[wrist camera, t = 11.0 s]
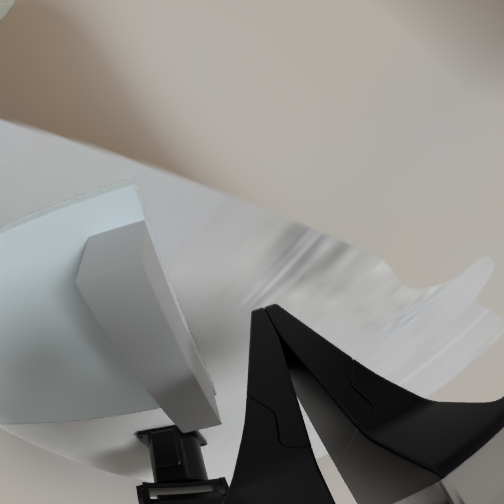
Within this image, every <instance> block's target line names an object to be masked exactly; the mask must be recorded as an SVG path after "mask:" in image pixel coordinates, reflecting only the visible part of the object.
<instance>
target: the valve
mask: <svg viewBox="0 0 504 504" xmlns="http://www.w3.org/2000/svg"><path fill="white" fill-rule="evenodd" d="M15 1H16V0H0V21H1V20H2V19H3V18H4V17H5V16H6V14H7V13H8V12H9V10H10V9H11V7H12V6H13V4H14V3H15Z"/></svg>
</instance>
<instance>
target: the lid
mask: <svg viewBox="0 0 504 504" xmlns="http://www.w3.org/2000/svg"><path fill="white" fill-rule="evenodd" d="M214 395H216V391H215V387H214V384H213V382H212V379H211V377H210V375H209V373H208V371H207V369H206V366H205V364H204V362H203V360H202V357H201V355H200V353H199V351H198V348H197V346H196V344H195V341H194V339H193V337H192V334H191V332H190V330H189V327H188V325H187V323H186V320H185V318H184V315H183V313H182V310H181V308H180V305H179V303H178V300H177V298H176V295H175V293H174V290H173V287H172V285H171V282H170V280H169V277H168V274H167V272H166V269H165V266H164V263H163V261H162V258H161V255H160V252H159V250H158V247H157V244H156V241H155V238H154V235H153V232H152V229H151V226H150V223H149V220H148V217H147V214H146V211H145V208H144V205H143V202H142V199H141V195H140V192H139V189H138V186H137V182H136V179H135V177H133V178H130V179H126V180H123V181H120V182H117V183H114V184H111V185H107V186H104V187H101V188H98V189H96V190H93V191H90V192H87V193H84V194H81V195H78V196H76V197H73V198H70V199H67V200H65V201H62V202H59V203H57V204H54V205H52V206H49V207H46V208H44V209H41V210H39V211H36V212H34V213H32V214H29V215H27V216H24V217H22V218H20V219H17V220H15V221H13V222H10V223H8V224H6V225H4V226H1V227H0V424H37V423H54V422H67V421H77V420H86V419H95V418H103V417H110V416H117V415H123V414H130V413H135V412H141V411H147V410H152V409H157V408H162V410H163V411H164V412H165V413H166V414H167V415H168V417H169V418H170V419H171V420H172V421H173V422H174V423H175V425H176V426H177V427H178V428H179V429H180V430H181V431H182V432H183V433H186V432H190V431H195V430H199V429H204V428H208V427H212V426H216V425H220V424H222V423H221V420H220V416H219V412H218V408H217V405H216V401H215V397H214Z"/></svg>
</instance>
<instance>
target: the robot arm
mask: <svg viewBox="0 0 504 504" xmlns="http://www.w3.org/2000/svg"><path fill="white" fill-rule="evenodd" d="M296 395H297V396H296ZM297 397H298V399H299V401H300V403H301V405H302V406H303V408H304V410H305V412H306V414H307V415H308V417H309V419H310V421H311V423H312V425H313V426H314V428H315V430H316V432H317V434H318V435H319V437H320V439H321V441H322V443H323V444H324V446H325V448H326V450H327V451H328V453H329V455H330V457H331V458H332V460H333V462H334V463H335V466H336V467H337V469H338V471H339V473H340V474H341V476H342V478H343V479H344V481H345V483H346V485H347V486H348V488H349V490H350V492H351V493H352V495H353V497H354V498H355V500H356V502H357V503H358V504H504V397H502V398H501V399H499V400H496V401H493V402H486V403H465V402H464V403H463V402H437V401H432V400H428V399H425V398H422V397H420V396H418V395H416V394H414V393H412V392H410V391H408V390H406V389H404V388H402V387H400V386H398V385H396V384H394V383H392V382H390V381H388V380H386V379H385V378H383V377H381V376H379V375H377V374H376V373H374V372H372V371H371V370H369V369H368V368H366V367H365V366H363V365H362V364H360V363H359V362H357V361H356V360H355V359H353V360H352V357H350V356H349V355H347V354H346V353H344V352H343V351H342V350H340V349H339V348H337V347H336V346H334V345H333V344H332V343H330V342H329V341H327V340H326V339H325V338H323V337H322V336H320V335H319V334H318V333H316V332H315V331H313V330H312V329H311V328H309V327H308V326H306V325H305V324H304V323H302V322H301V321H299V320H298V319H297V318H295V317H294V316H293V315H291V314H290V313H288V312H287V311H286V310H284V309H283V308H281V307H280V306H279V305H277V304H273V305H270V306H266V307H265V308H260V309H256V310H253V311H252V312H251V328H250V346H249V364H248V383H247V399H246V413H245V423H244V429H243V434H242V439H241V444H240V448H239V453H238V457H237V462H236V466H235V470H234V474H233V478H232V481H231V484H230V487H229V486H228V484H227V482H226V479H225V477H221V478H219V479H210V480H208V476H207V473H206V469H205V465H204V461H203V457H202V452H201V448H200V446H205V445H207V441H206V440H205V439H204V437H203V436H202V435H201V434H200V432H199V431H198V430H195V431H190V432H186V433H183V432H182V431H181V430H180V429H179V428H178V427H177V426H173V427H167V428H162V429H156V430H151V431H145V432H139V433H137V434H136V435H137V438H138V439H139V440H140V441H142V442H143V443H144V444H145V445H147V446H148V447H149V451H150V458H151V464H152V471H153V477H154V483H147V482H143V483H142V484H143V485H140V486H136V488H137V495H138V501H139V504H335V502H334V500H333V498H332V495H331V493H330V491H329V489H328V487H327V485H326V482H325V480H324V478H323V476H322V474H321V472H320V469H319V467H318V465H317V462H316V459H315V456H314V453H313V450H312V448H311V443H310V440H309V437H308V433H307V430H306V426H305V423H304V420H303V416H302V413H301V410H300V406H299V403H298V400H297ZM152 496H153V497H154V496H157V499H150V497H152Z"/></svg>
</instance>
